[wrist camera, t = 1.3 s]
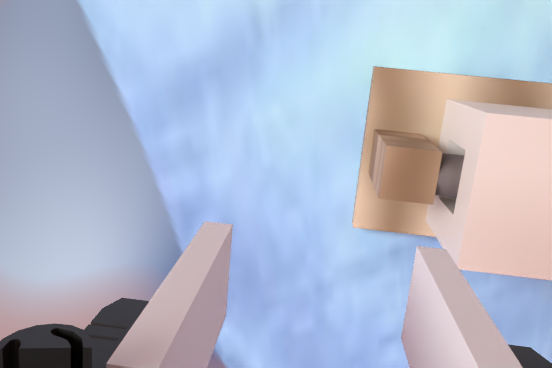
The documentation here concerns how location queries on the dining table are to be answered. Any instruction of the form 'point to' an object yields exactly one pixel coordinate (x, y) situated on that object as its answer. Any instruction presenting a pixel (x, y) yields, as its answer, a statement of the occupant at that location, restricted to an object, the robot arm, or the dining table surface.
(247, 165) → the dining table surface
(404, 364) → the dining table surface
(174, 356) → the robot arm
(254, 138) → the dining table surface
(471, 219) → the sleeve
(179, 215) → the dining table surface
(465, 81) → the rail
